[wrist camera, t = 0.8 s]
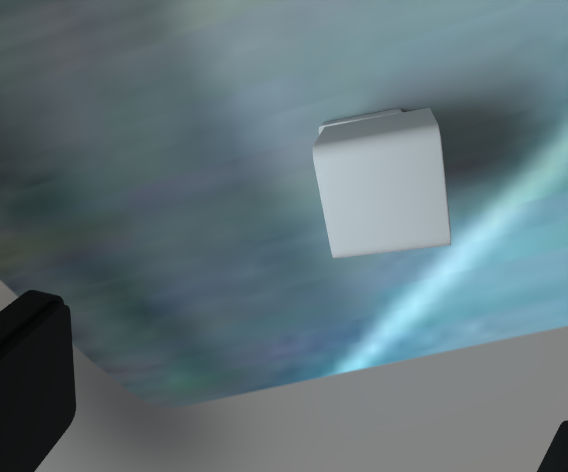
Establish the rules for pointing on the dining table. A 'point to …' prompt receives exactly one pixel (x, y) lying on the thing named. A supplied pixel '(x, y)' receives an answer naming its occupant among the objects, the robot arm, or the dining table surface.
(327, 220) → the security camera
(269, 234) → the dining table surface
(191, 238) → the dining table surface
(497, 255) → the dining table surface
